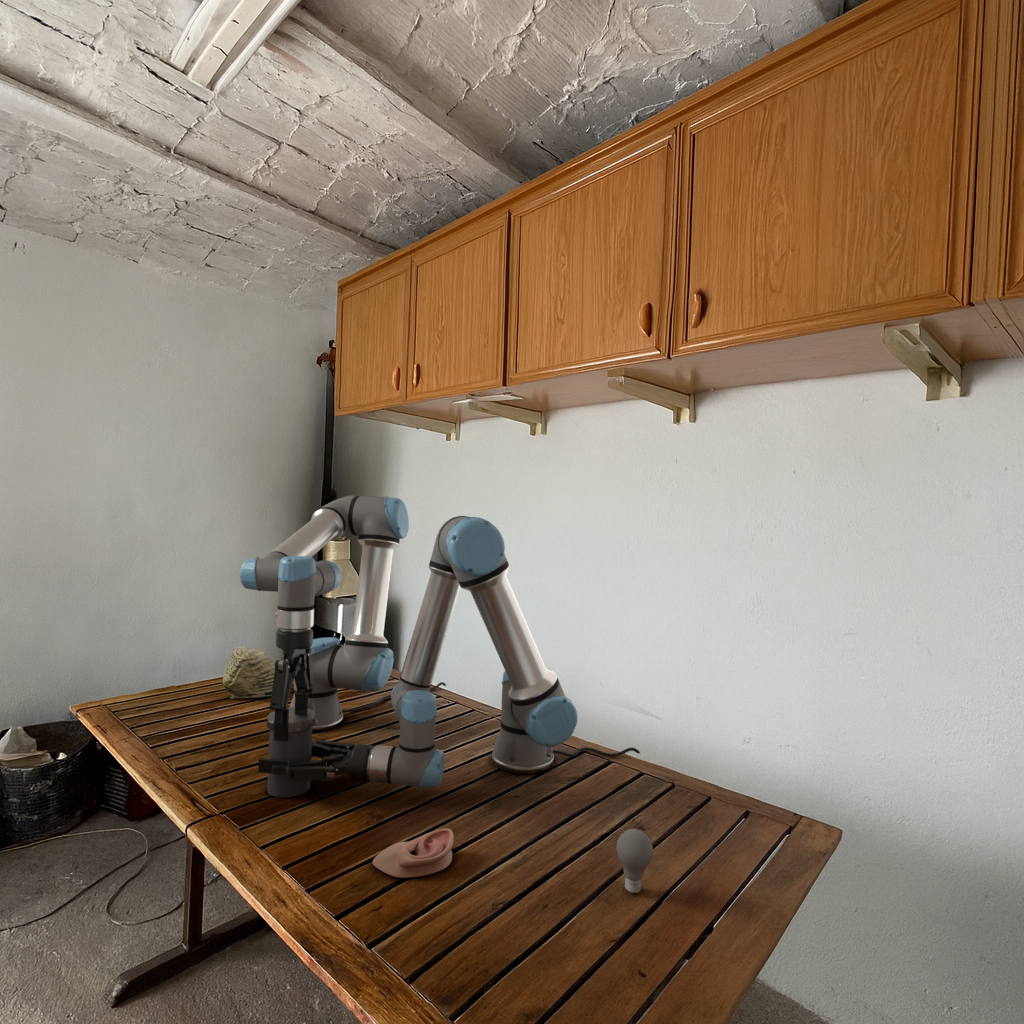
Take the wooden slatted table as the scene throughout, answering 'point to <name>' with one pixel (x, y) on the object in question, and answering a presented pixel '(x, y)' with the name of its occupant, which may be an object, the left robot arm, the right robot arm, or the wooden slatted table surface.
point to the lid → (295, 719)
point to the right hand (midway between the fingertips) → (269, 756)
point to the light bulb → (634, 857)
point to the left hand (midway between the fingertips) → (291, 731)
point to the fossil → (249, 673)
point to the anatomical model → (417, 855)
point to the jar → (297, 751)
